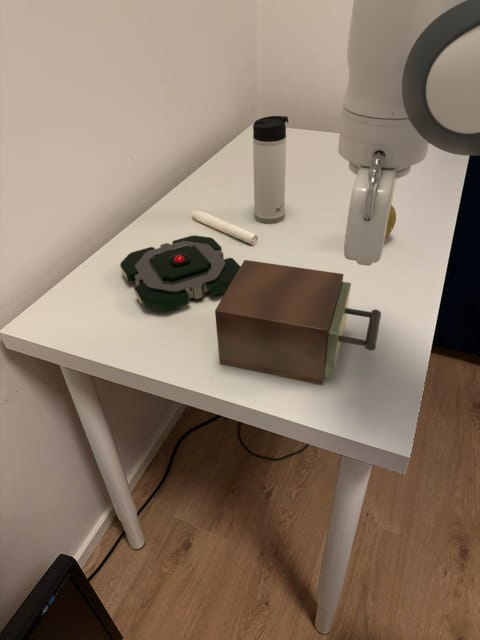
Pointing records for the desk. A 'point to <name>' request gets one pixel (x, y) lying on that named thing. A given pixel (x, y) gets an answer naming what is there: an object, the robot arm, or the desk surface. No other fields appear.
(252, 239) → the white rod
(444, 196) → the desk surface
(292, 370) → the cabinet
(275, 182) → the travel mug
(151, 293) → the flat green button pad
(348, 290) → the drawer
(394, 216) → the sculpture
